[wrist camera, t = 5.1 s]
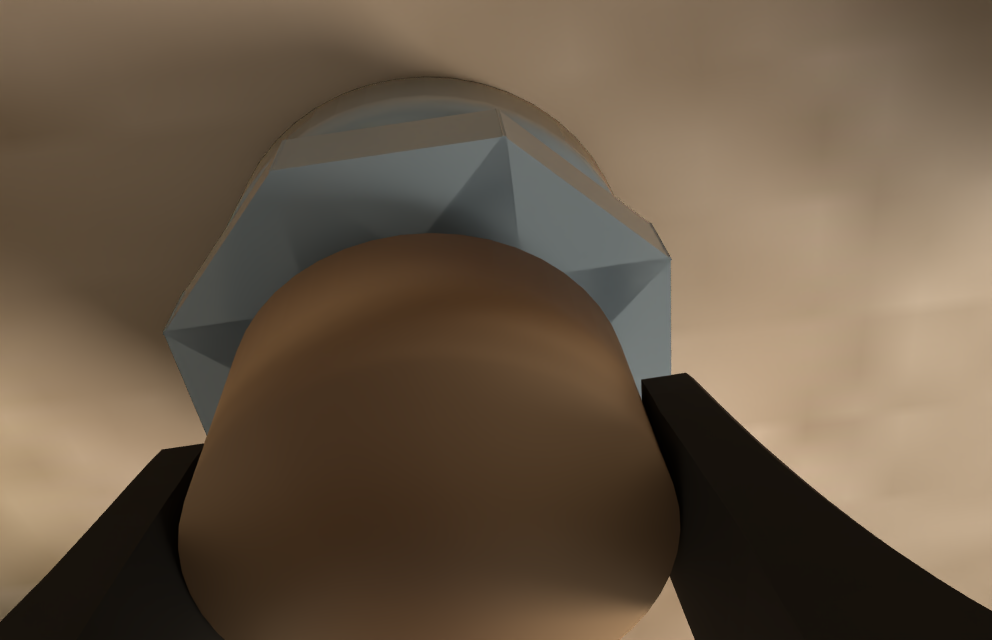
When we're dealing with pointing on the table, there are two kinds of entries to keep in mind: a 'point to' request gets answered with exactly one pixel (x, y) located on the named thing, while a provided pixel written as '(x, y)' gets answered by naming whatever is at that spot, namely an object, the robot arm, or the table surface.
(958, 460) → the table surface
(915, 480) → the table surface
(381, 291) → the lid
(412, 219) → the dish
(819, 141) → the table surface
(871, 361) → the table surface
